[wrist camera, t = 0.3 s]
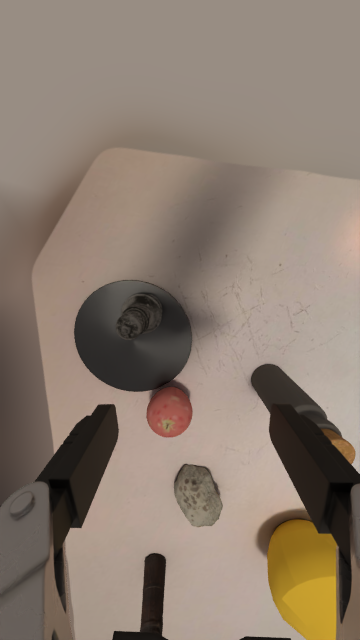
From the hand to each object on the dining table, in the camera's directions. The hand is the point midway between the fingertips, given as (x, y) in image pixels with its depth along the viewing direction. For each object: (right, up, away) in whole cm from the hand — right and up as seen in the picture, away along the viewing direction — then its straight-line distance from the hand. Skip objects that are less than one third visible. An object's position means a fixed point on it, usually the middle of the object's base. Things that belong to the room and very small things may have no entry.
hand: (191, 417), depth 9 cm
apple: (-2, -9, +25) cm, 27 cm away
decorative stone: (+3, -31, +31) cm, 44 cm away
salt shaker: (-6, +7, +21) cm, 22 cm away
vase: (+27, -45, +34) cm, 63 cm away
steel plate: (-9, +2, +22) cm, 24 cm away
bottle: (+15, -6, +24) cm, 29 cm away
